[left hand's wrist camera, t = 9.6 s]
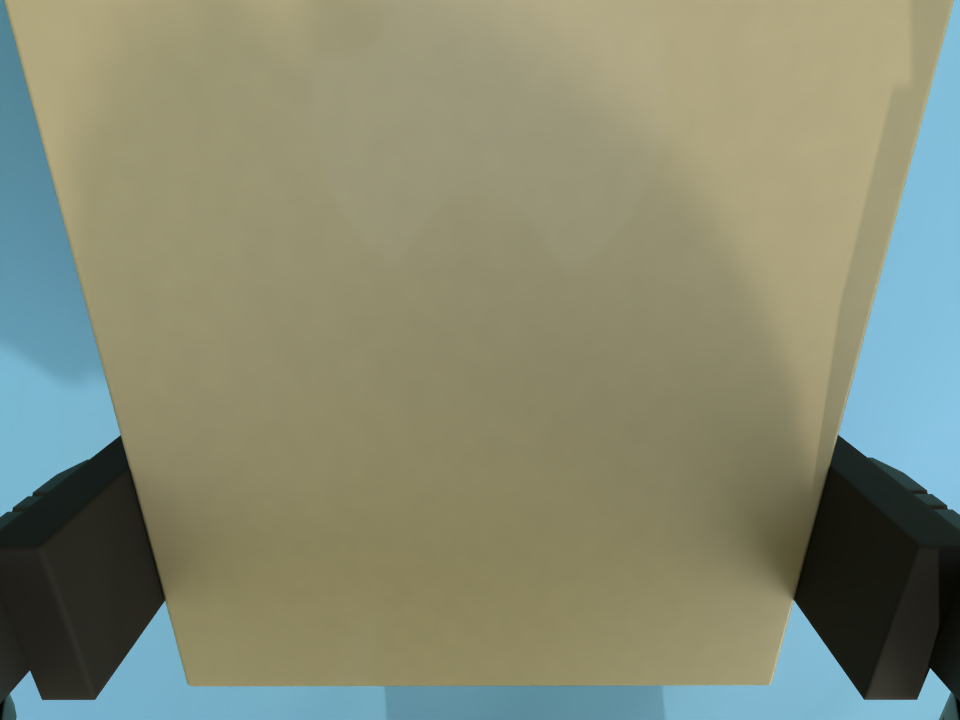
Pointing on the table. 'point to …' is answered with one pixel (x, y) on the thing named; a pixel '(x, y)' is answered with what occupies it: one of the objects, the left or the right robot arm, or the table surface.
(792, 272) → the tan cardboard carton
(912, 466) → the table surface
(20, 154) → the table surface
